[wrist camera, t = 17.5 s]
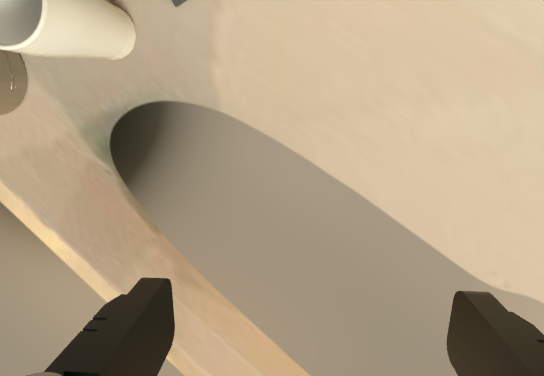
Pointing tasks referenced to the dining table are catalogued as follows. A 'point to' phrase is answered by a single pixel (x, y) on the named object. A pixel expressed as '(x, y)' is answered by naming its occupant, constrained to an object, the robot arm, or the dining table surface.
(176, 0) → the mat
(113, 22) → the drinking glass
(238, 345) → the dining table surface
